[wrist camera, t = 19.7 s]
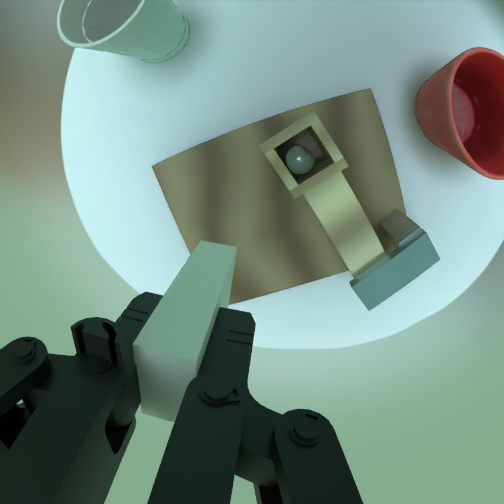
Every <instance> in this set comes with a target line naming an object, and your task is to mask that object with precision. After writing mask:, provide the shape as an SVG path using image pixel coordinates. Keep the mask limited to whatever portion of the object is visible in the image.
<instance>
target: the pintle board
mask: <svg viewBox="0 0 504 504" xmlns="http://www.w3.org/2000/svg"><path fill="white" fill-rule="evenodd" d="M313 111H314V112H315V114H316V115H317V117H318V118H319V120H320V121H321V123H322V124H323V126H324V127H325V129H326V130H327V132H328V134H329V135H330V137H331V138H332V140H333V141H334V143H335V145H336V146H337V148H338V149H339V151H340V153H341V154H342V156H343V158H344V159H345V161H346V163H347V164H348V167H347V168H345V169H343V170H342V171H341V172H342V174H343V176H344V177H345V179H346V181H347V183H348V184H349V186H350V188H351V189H352V191H353V193H354V195H355V196H356V198H357V200H358V202H359V204H360V205H361V207H362V209H363V211H364V213H365V215H366V216H367V218H368V220H369V222H370V224H371V226H372V228H373V230H374V232H375V234H376V236H377V237H378V239H379V241H380V243H381V245H382V247H383V249H384V251H385V254H386V255H387V254H389V253H390V252H392V251H393V250H394V249H396V247H395V246H394V245H393V243H392V242H391V241H390V240H389V238H388V237H387V235H386V234H385V232H384V231H383V229H382V228H381V226H380V224H379V223H378V222H379V221H380V220H382V219H383V218H384V217H385V216H387V215H388V214H389V213H391V212H392V211H393V210H395V209H398V210H399V211H400V212H402V213H403V214H404V215H406V213H405V208H404V203H403V198H402V194H401V189H400V185H399V181H398V176H397V172H396V168H395V164H394V161H393V157H392V153H391V149H390V146H389V142H388V139H387V136H386V132H385V129H384V126H383V123H382V120H381V116H380V113H379V110H378V107H377V104H376V102H375V99H374V96H373V93H372V90H371V88H370V89H366V90H361V91H357V92H353V93H349V94H345V95H342V96H338V97H334V98H330V99H327V100H323V101H320V102H316V103H313V104H310V105H306V106H303V107H300V108H297V109H294V110H290V111H287V112H284V113H281V114H278V115H275V116H272V117H269V118H267V119H264V120H261V121H258V122H255V123H252V124H250V125H247V126H244V127H242V128H239V129H236V130H234V131H231V132H229V133H226V134H224V135H221V136H219V137H216V138H214V139H211V140H209V141H206V142H204V143H202V144H199V145H197V146H195V147H192V148H190V149H188V150H185V151H183V152H181V153H179V154H177V155H174V156H172V157H170V158H168V159H166V160H164V161H161V162H159V163H157V164H155V165H153V166H152V168H153V170H154V173H155V175H156V178H157V180H158V182H159V185H160V187H161V189H162V192H163V194H164V196H165V199H166V201H167V203H168V206H169V208H170V210H171V212H172V215H173V217H174V219H175V221H176V224H177V226H178V228H179V230H180V233H181V235H182V237H183V239H184V241H185V243H186V246H187V248H188V250H189V252H190V254H192V253H193V251H194V250H195V248H196V247H197V245H198V244H199V242H200V241H201V240H202V241H207V242H213V243H218V244H223V245H229V246H234V247H237V252H236V259H235V265H234V272H233V278H232V285H231V291H230V298H229V304H228V305H231V304H234V303H238V302H242V301H246V300H249V299H253V298H256V297H260V296H264V295H267V294H271V293H274V292H278V291H281V290H285V289H288V288H292V287H295V286H299V285H302V284H305V283H309V282H312V281H315V280H319V279H322V278H325V277H329V276H332V275H335V274H338V273H342V272H345V271H348V270H349V269H348V267H347V265H346V263H345V262H344V260H343V258H342V257H341V255H340V253H339V251H338V250H337V248H336V246H335V245H334V243H333V241H332V240H331V238H330V236H329V235H328V233H327V231H326V230H325V228H324V227H323V225H322V223H321V222H320V220H319V218H318V217H317V215H316V214H315V212H314V210H313V209H312V207H311V206H310V204H309V203H308V201H307V199H306V198H305V196H304V195H303V194H302V195H301V196H299V197H298V198H296V199H295V198H294V197H293V195H292V194H291V192H290V191H289V189H288V188H287V186H286V185H285V183H284V182H283V180H282V179H281V177H280V176H279V174H278V173H277V171H276V170H275V168H274V167H273V166H272V164H271V163H270V161H269V160H268V158H267V157H266V155H265V154H264V153H263V151H262V150H261V148H260V147H259V145H261V144H262V143H264V142H265V141H267V140H269V139H270V138H272V137H273V136H275V135H276V134H278V133H279V132H281V131H283V130H284V129H286V128H287V127H289V126H290V125H292V124H294V123H295V122H297V121H299V120H300V119H302V118H303V117H305V116H307V115H308V114H310V113H312V112H313ZM293 143H298V144H301V145H302V146H304V147H305V148H307V149H308V150H310V151H311V153H312V154H313V157H314V164H315V163H317V162H318V161H320V160H322V159H323V158H325V155H324V154H323V152H322V150H321V149H320V147H319V146H318V144H317V143H316V141H315V140H314V138H313V137H312V135H311V134H310V132H309V131H308V129H307V128H306V129H304V130H302V131H301V132H299V133H298V134H296V135H294V136H293V137H291V138H290V139H288V140H286V141H285V142H283V143H282V144H280V145H279V146H277V147H276V148H277V150H278V151H279V153H280V154H281V156H282V157H283V158H284V160H285V161H286V158H285V150H286V148H287V147H288V146H289V145H290V144H293ZM314 164H313V165H314ZM293 173H294V172H293ZM294 175H295V176H296V175H297V173H294Z"/></svg>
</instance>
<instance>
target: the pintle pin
mask: <svg viewBox="0 0 504 504" xmlns="http://www.w3.org/2000/svg"><path fill="white" fill-rule="evenodd" d="M285 158H286V163H287V166H288V168H289V169H290V170H291V171H292V172H294V173H297V174H304V173H307V172H308V171H310V170H311V168H312V167H313V164H314V157H313V154H312V153H311V151H310V150H308V149H307V148H305V147H304V146H302V145H301V144H298V143H293V144H290V145H289V146H288V147H287V148H286V150H285Z"/></svg>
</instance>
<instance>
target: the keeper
mask: <svg viewBox="0 0 504 504" xmlns="http://www.w3.org/2000/svg"><path fill="white" fill-rule="evenodd" d="M378 223H379V224H380V226H381V228H382V229H383V231H384V232H385V234H386V235H387V237H388V238H389V240H390V241H391V242H392V243H393V245H394V246H395V247H396V249H394V250H393V251H392V252H390V253H389V254H387V255H386V256H385V257H383V258H382V259H381V260H379V261H378V262H377V263H375V264H374V265H372V266H371V267H370V268H368V269H367V270H365V271H364V272H363V273H361V274H360V275H358V276H357V277H355V278H354V279H353V280H351V281H350V285H351V287H352V289H353V290H354V291H355V293H356V294H357V295H358V297H359V298H360V299H361V301H362V302H363V303H364V305H365V306H366V308H367V309H368V310H369V311H370V310H371V309H373V308H374V307H376V306H377V305H379V304H380V303H381V302H383V301H384V300H386V299H387V298H389V297H390V296H392V295H393V294H394V293H396V292H397V291H399V290H400V289H401V288H403V287H404V286H406V285H407V284H408V283H410V282H411V281H412V280H414V279H415V278H416V277H418V276H419V275H420V274H422V273H423V272H424V271H426V270H427V269H428V268H430V267H431V266H432V265H434V264H435V263H436V262H437V261H439V260H440V258H439V256H438V254H437V252H436V250H435V248H434V246H433V244H432V242H431V240H430V238H429V236H428V235H427V233H426V232H425V231H424V230H423V229H421V228H420V227H419V226H418V225H417V224H416V223H414V222H413V221H412V220H411V219H409V218H408V217H407V216H406V215H404V214H403V213H402V212H400V211H399V210H398V209H395V210H393V211H392V212H391V213H389V214H388V215H387V216H385V217H384V218H383V219H382V220H380V221H379V222H378Z"/></svg>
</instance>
